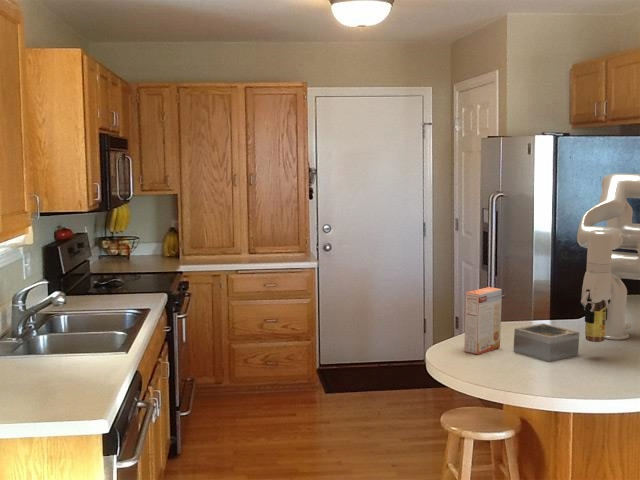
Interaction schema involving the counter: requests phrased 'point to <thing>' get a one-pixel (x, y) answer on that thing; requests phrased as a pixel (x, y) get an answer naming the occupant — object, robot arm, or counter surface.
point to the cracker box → (482, 320)
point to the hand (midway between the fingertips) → (595, 320)
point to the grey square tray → (546, 342)
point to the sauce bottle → (597, 323)
